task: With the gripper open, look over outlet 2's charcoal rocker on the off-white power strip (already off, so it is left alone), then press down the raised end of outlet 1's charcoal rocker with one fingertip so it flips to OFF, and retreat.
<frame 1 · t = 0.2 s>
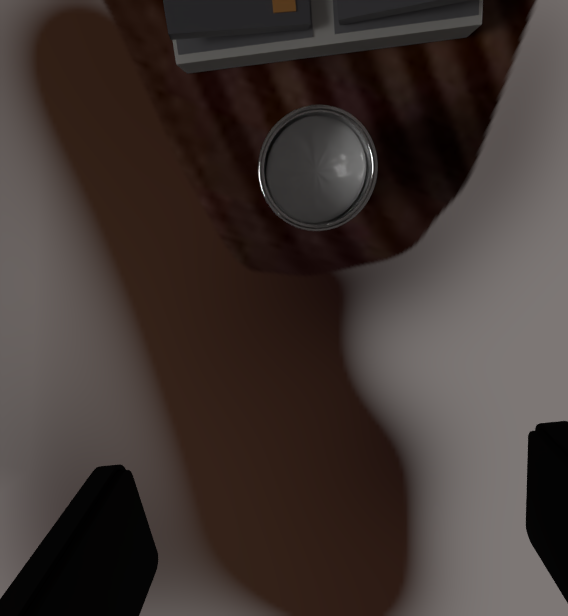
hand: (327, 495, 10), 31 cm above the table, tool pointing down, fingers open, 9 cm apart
power strip: (320, 13, 33), on the table
beer glass: (313, 172, 37), on the table
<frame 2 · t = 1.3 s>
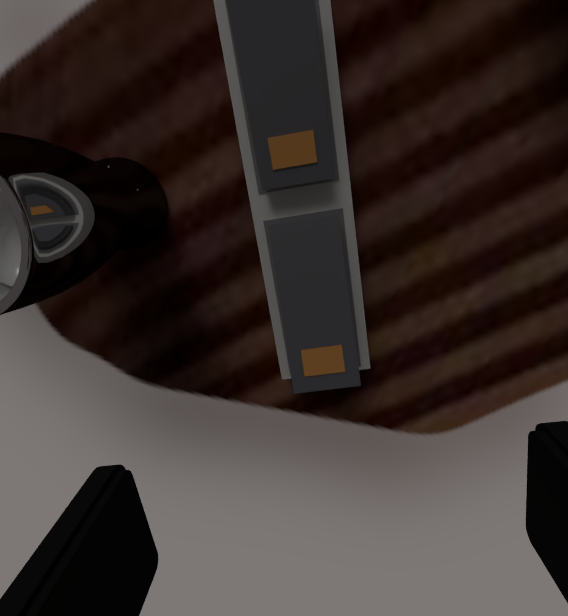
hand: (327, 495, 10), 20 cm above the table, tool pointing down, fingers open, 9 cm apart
power strip: (301, 198, 27), on the table
outlet 2 rocker: (315, 305, 24), point 5 cm above the table, hinge at 10.0°
beer glass: (124, 204, 28), on the table
outlet 1 rocker: (282, 82, 21), point 5 cm above the table, hinge at -10.0°
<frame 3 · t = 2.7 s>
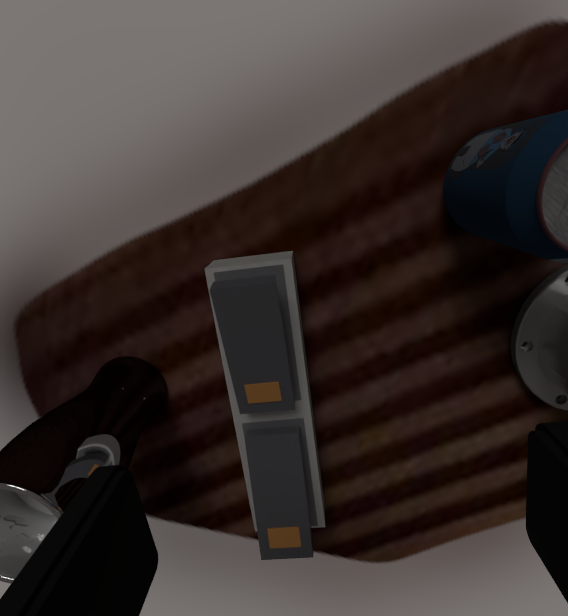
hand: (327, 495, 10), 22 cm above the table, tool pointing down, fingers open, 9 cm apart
soda can: (487, 183, 28), on the table
power strip: (274, 391, 34), on the table
outlet 2 rocker: (279, 493, 31), point 5 cm above the table, hinge at 10.0°
beer glass: (132, 387, 35), on the table
outlet 1 rocker: (256, 349, 27), point 5 cm above the table, hinge at -10.0°
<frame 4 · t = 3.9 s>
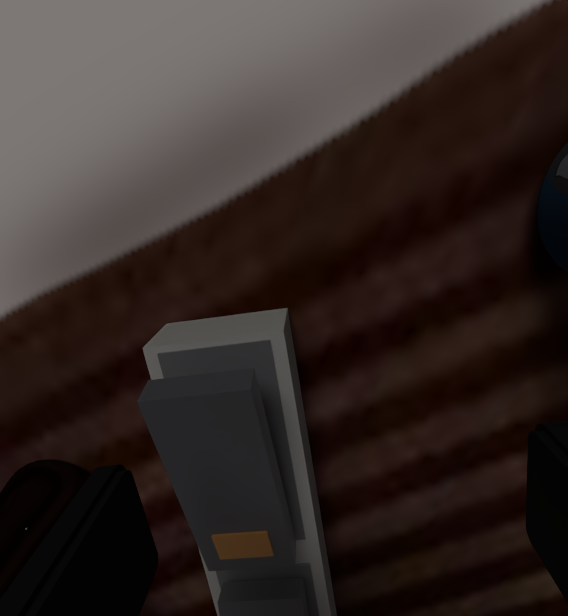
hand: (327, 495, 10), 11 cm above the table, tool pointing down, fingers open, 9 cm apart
power strip: (266, 506, 23), on the table
beer glass: (62, 499, 24), on the table
outlet 1 rocker: (228, 482, 17), point 5 cm above the table, hinge at -10.0°
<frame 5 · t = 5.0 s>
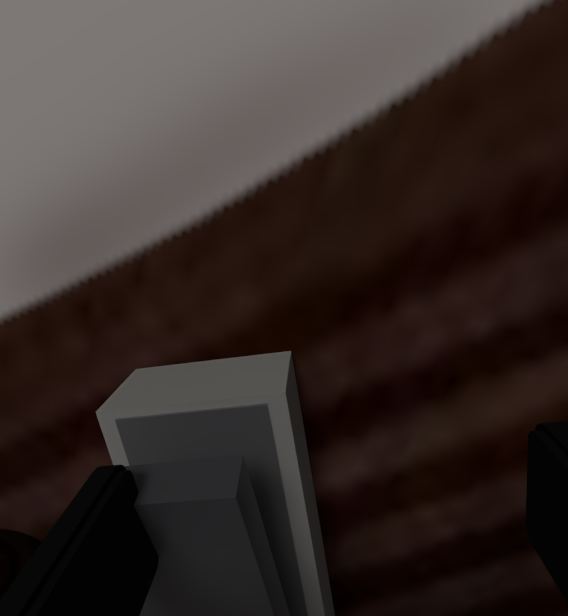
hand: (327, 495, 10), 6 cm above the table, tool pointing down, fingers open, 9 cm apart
power strip: (264, 589, 19), on the table
beer glass: (16, 573, 20), on the table
outlet 1 rocker: (210, 599, 12), point 5 cm above the table, hinge at -9.7°, touching gripper
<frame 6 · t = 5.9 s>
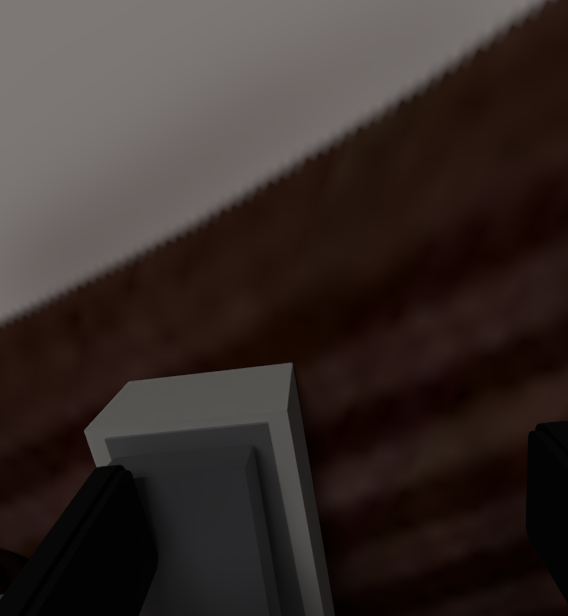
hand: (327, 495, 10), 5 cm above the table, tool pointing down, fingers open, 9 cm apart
power strip: (264, 609, 18), on the table
beer glass: (5, 593, 19), on the table
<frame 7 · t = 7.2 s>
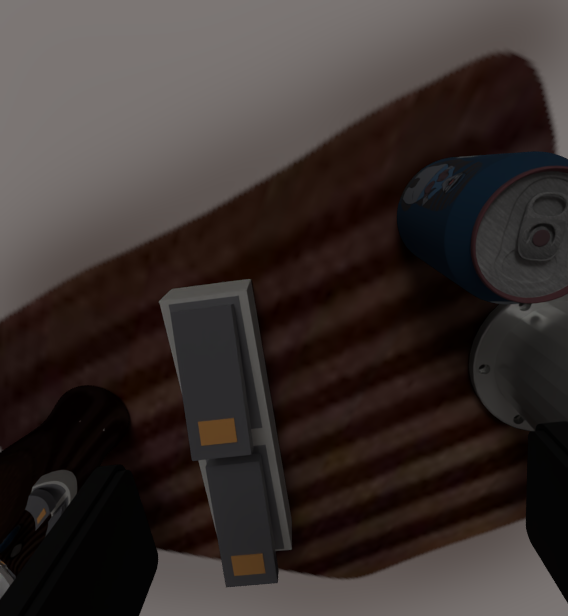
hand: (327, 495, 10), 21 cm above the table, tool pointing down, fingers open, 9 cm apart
soda can: (441, 210, 28), on the table
power strip: (237, 416, 34), on the table
outlet 2 rocker: (243, 521, 31), point 5 cm above the table, hinge at 10.0°
beer glass: (94, 415, 34), on the table
outlet 1 rocker: (212, 382, 27), point 5 cm above the table, hinge at 14.6°, touching power strip
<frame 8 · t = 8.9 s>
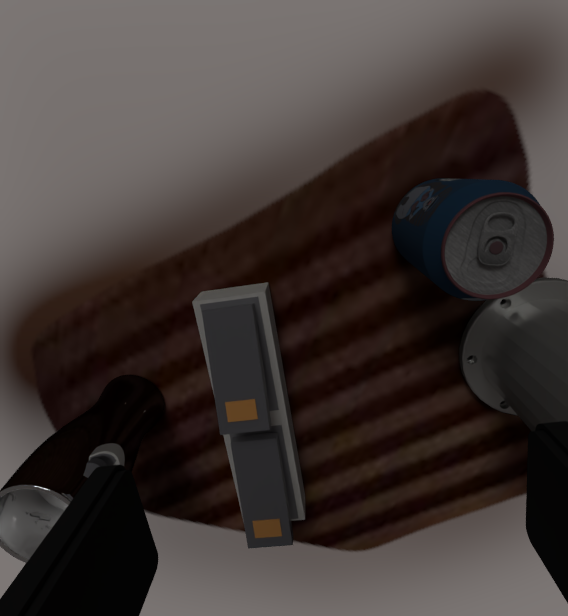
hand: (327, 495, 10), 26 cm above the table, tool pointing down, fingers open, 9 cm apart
soda can: (431, 222, 33), on the table
power strip: (257, 402, 39), on the table
outlet 2 rocker: (262, 490, 36), point 5 cm above the table, hinge at 10.0°
beer glass: (135, 400, 40), on the table
outlet 1 rocker: (237, 369, 32), point 5 cm above the table, hinge at 13.8°
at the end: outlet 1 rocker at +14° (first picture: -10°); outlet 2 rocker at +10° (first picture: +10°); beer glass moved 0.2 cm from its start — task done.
